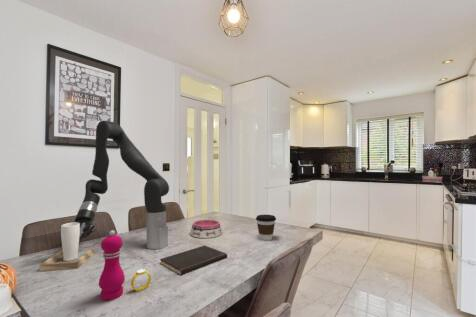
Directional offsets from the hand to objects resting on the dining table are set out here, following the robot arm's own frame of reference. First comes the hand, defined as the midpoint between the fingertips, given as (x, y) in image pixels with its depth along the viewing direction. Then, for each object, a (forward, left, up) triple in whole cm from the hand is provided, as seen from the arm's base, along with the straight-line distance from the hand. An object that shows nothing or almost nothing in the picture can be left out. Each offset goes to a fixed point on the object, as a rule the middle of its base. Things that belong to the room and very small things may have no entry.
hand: (74, 246), depth 109 cm
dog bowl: (-40, -50, -5) cm, 64 cm away
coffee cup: (-75, -51, -5) cm, 91 cm away
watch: (-48, +13, -5) cm, 50 cm away
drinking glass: (-1, +3, -5) cm, 6 cm away
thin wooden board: (-3, +4, -5) cm, 7 cm away
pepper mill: (-42, +19, -5) cm, 47 cm away
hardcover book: (-53, -13, -5) cm, 55 cm away
